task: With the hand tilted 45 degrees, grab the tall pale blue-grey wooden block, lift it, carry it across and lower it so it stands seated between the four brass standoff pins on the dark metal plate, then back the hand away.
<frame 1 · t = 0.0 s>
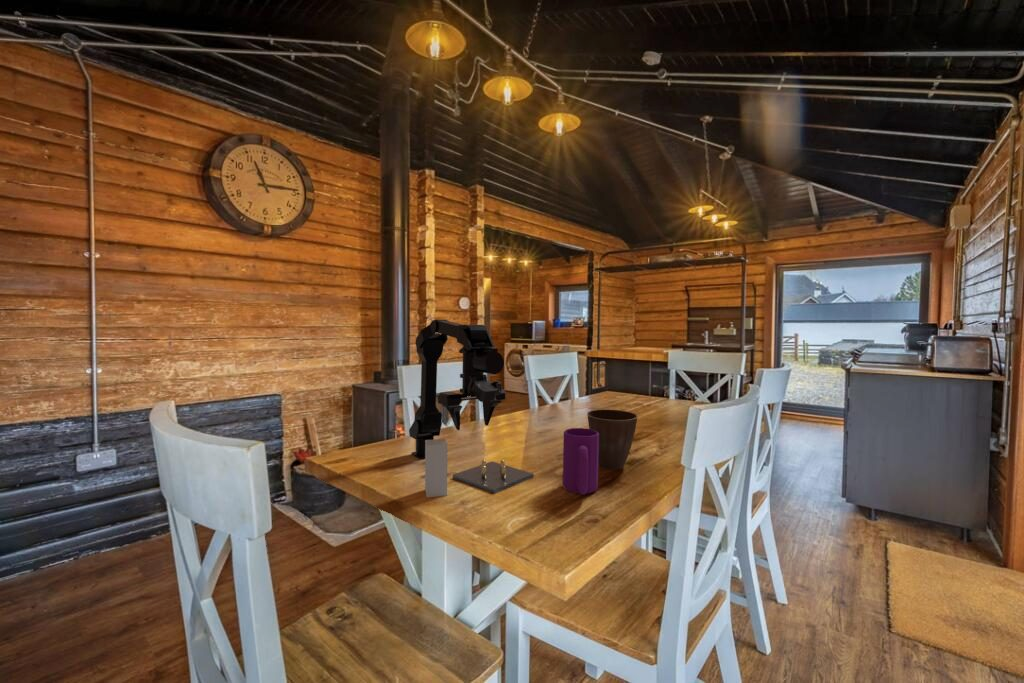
hand: (472, 427, 119), 15 cm above the table, fingers open, 9 cm apart
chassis: (493, 477, 122), on the table
mug: (581, 493, 112), on the table
plant pot: (610, 466, 133), on the table
block: (435, 492, 111), on the table
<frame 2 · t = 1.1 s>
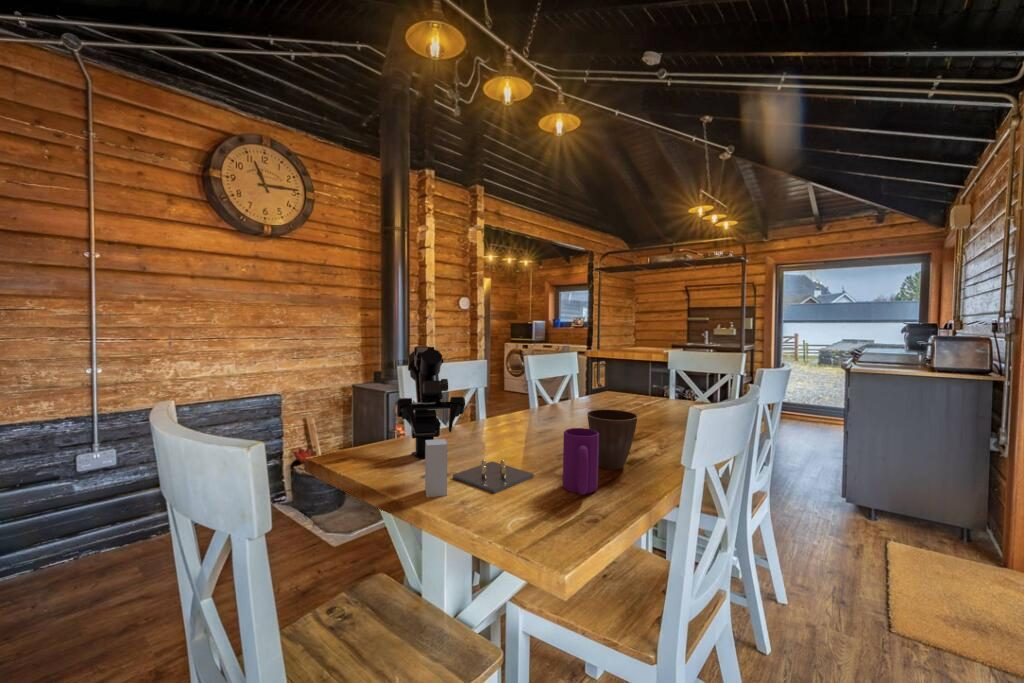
hand: (433, 432, 118), 13 cm above the table, fingers open, 9 cm apart
nothing on the table moved.
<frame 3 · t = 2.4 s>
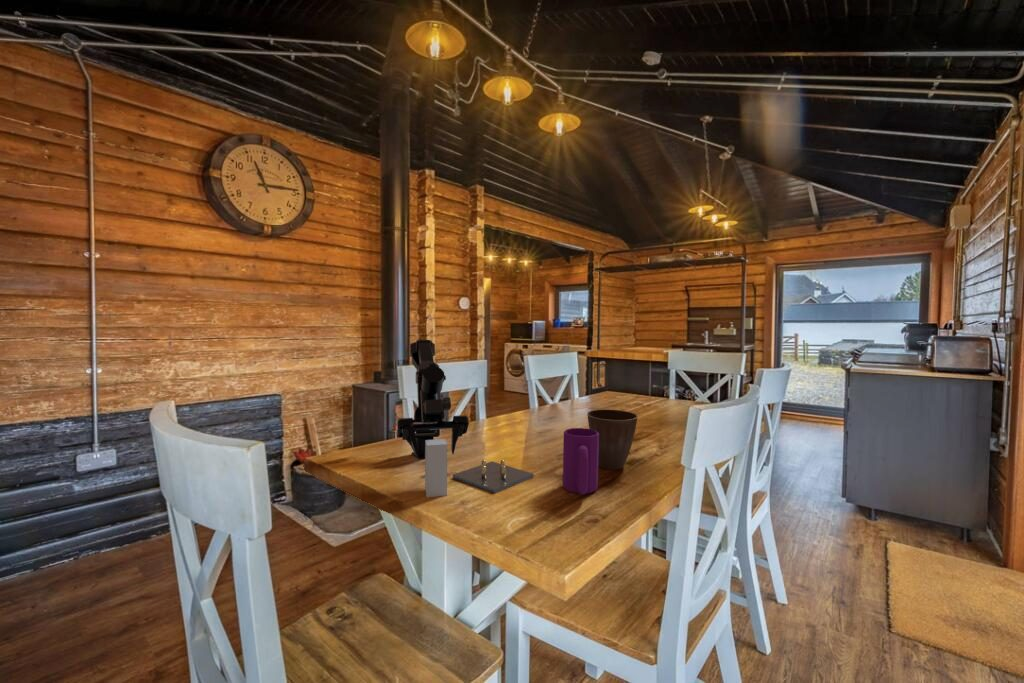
hand: (435, 454, 112), 9 cm above the table, fingers open, 9 cm apart
nothing on the table moved.
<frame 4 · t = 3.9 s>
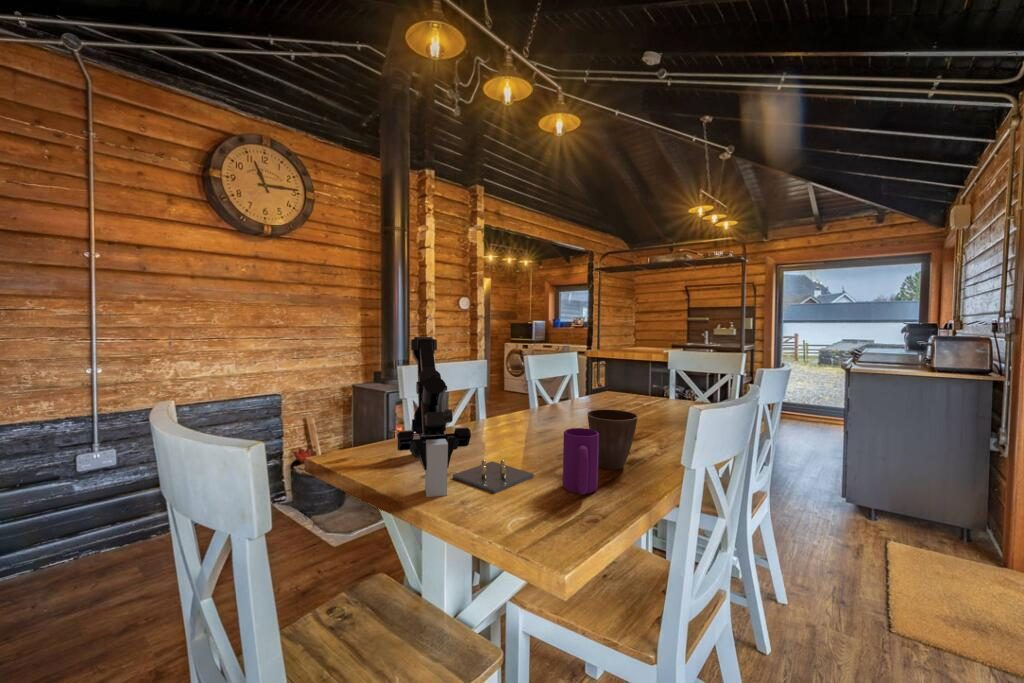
hand: (436, 468, 109), 7 cm above the table, fingers closed on block, 5 cm apart
block: (435, 492, 111), on the table, touching gripper
everything else where it was.
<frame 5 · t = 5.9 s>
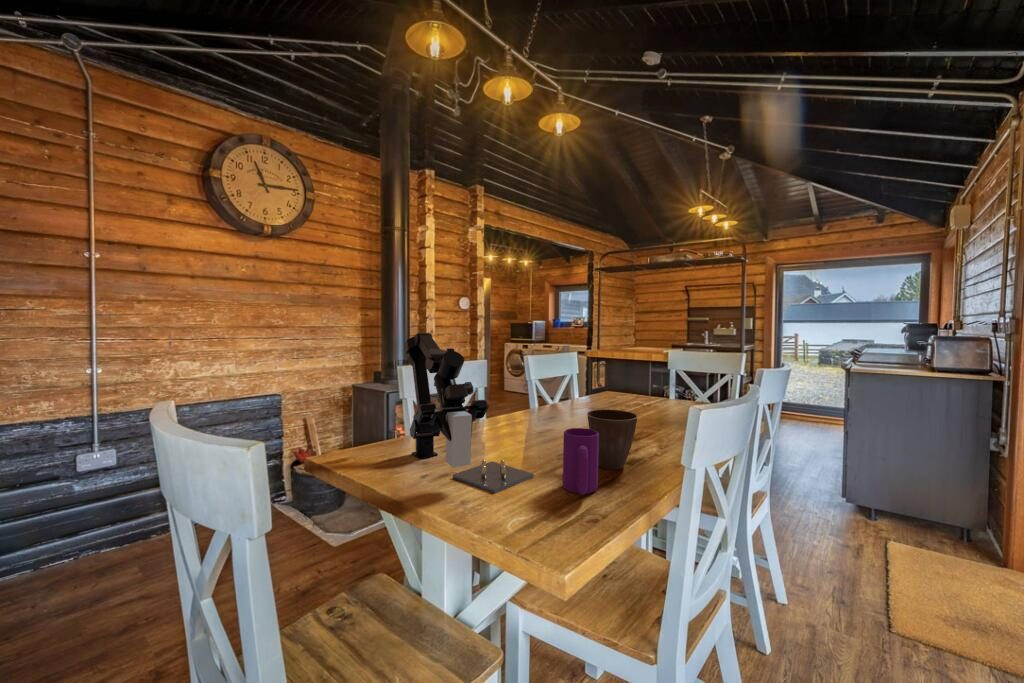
hand: (460, 439, 112), 13 cm above the table, fingers closed on block, 5 cm apart
block: (458, 463, 113), point 7 cm above the table, touching gripper
everything else where it was.
when the fingers open (9 cm above the table, at t = 8.2 s): block drops 1 cm, resting on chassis.
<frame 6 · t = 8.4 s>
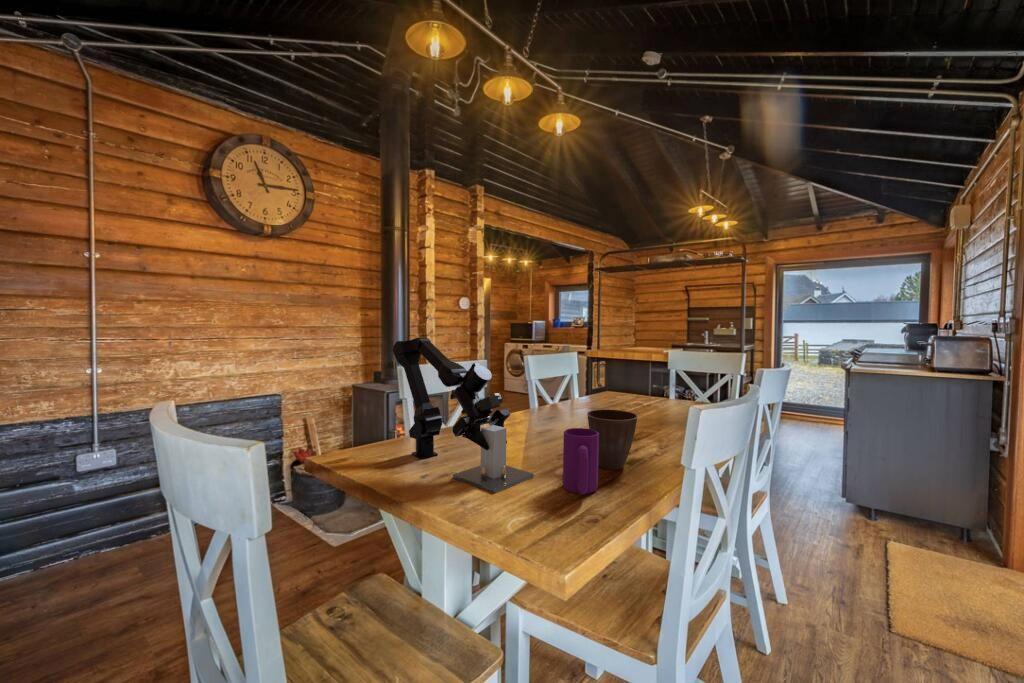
hand: (497, 446, 121), 9 cm above the table, fingers open, 7 cm apart
block: (493, 473, 122), point 1 cm above the table, touching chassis
everything else where it was.
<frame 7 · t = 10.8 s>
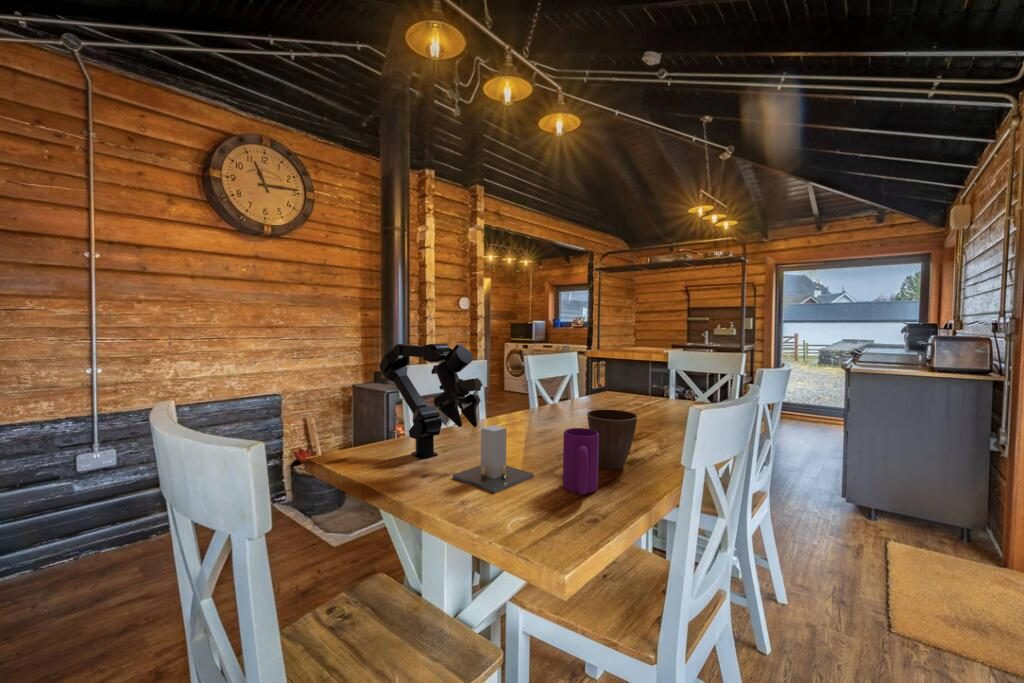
hand: (468, 426, 128), 13 cm above the table, fingers open, 9 cm apart
nothing on the table moved.
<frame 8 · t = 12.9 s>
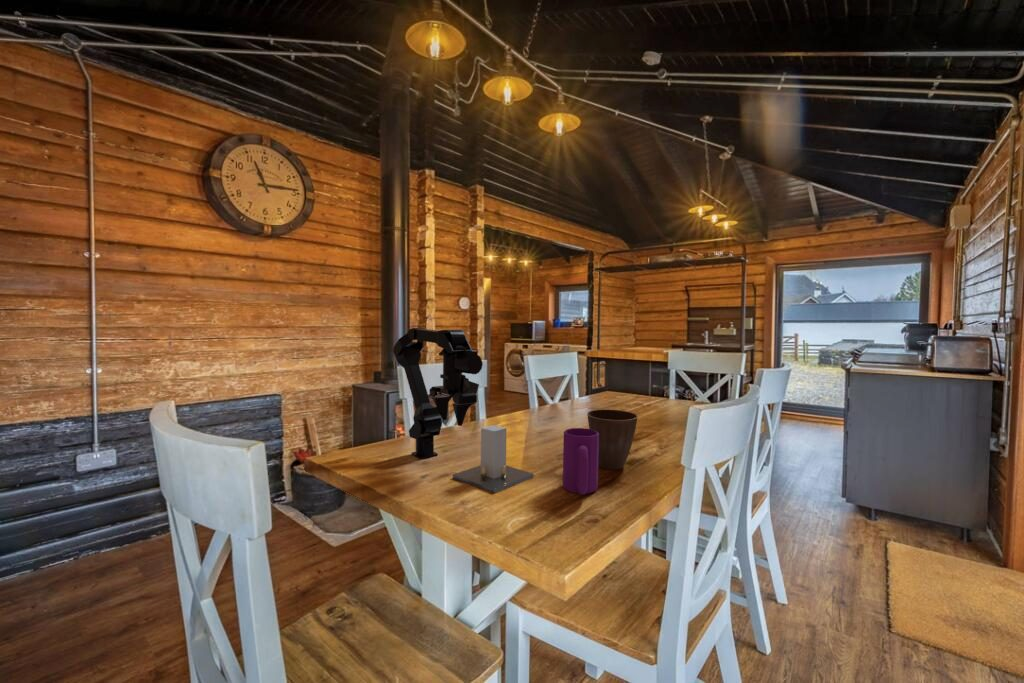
hand: (452, 422, 131), 13 cm above the table, fingers open, 9 cm apart
nothing on the table moved.
at the end: block 0.1 cm off-centre on the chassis, point 1.0 cm above the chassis's base; block tilted 0°; the gripper is holding nothing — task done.
